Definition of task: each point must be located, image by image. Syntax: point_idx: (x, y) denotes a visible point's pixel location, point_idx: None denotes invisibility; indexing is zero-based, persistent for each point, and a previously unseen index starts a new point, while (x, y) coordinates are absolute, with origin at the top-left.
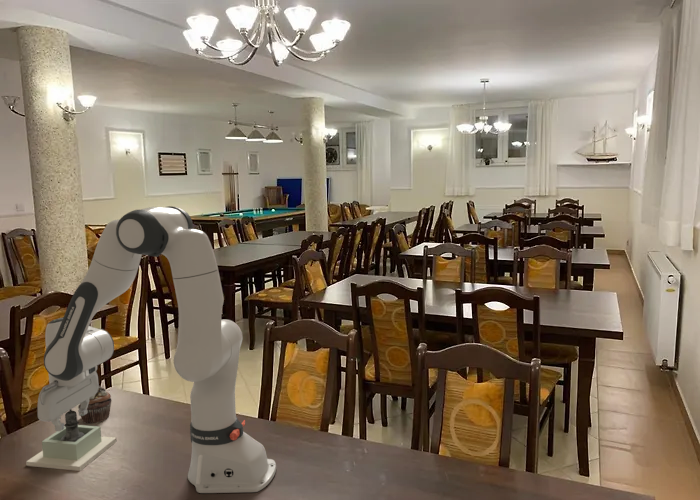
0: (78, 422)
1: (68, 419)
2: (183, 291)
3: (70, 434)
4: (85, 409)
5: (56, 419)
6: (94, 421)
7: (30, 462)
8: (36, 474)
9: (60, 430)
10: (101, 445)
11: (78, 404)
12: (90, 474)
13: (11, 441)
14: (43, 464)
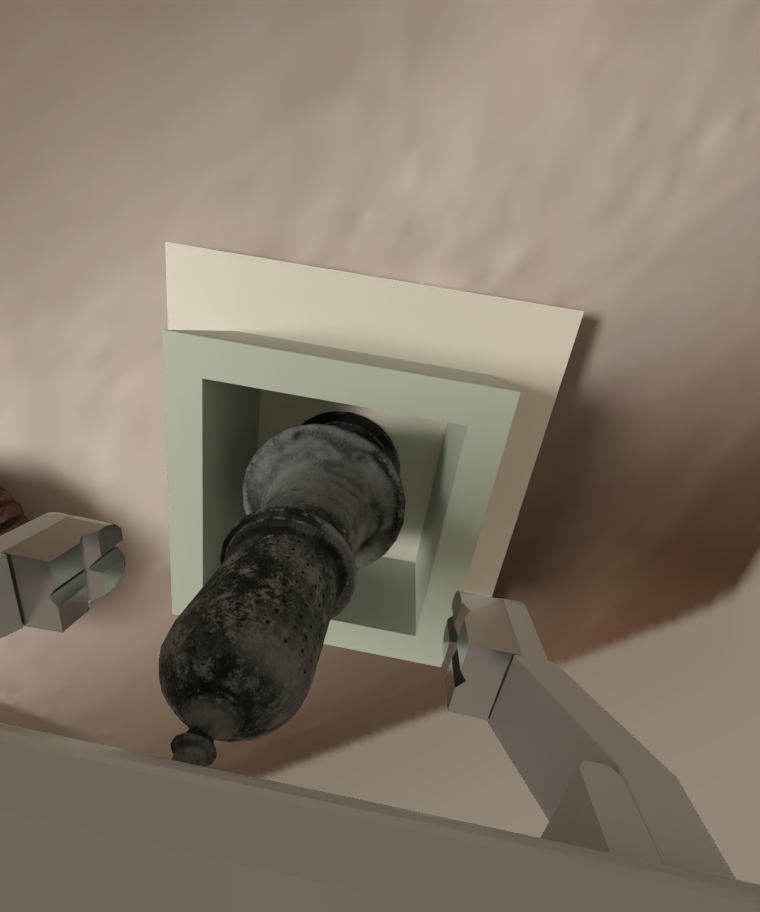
0: (251, 517)
1: (324, 634)
2: None
3: (359, 518)
4: (18, 550)
5: (699, 830)
6: (9, 510)
7: None
8: (568, 545)
9: (523, 606)
10: (288, 301)
11: (23, 730)
12: (632, 207)
13: (261, 759)
14: (503, 552)
